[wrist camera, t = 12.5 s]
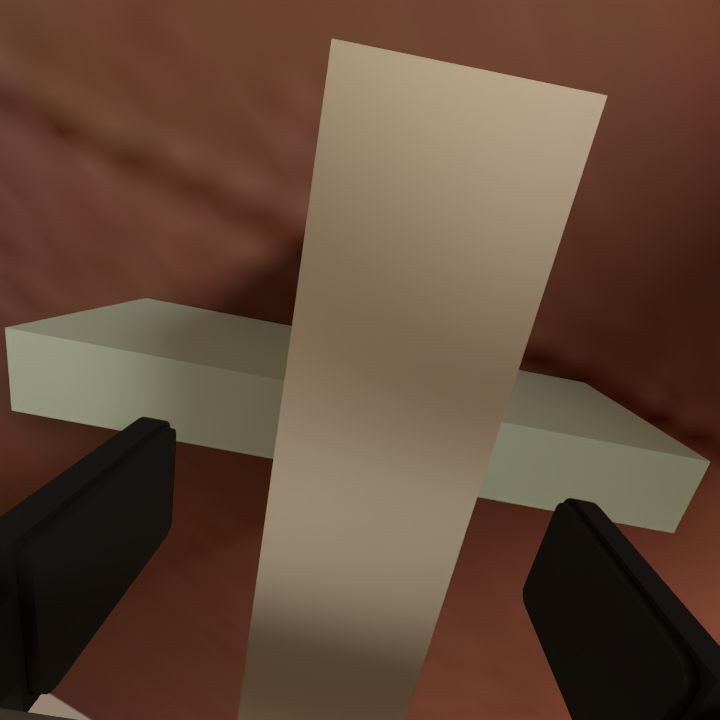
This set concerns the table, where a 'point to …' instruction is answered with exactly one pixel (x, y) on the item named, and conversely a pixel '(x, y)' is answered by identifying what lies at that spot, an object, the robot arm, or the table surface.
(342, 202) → the maple plate
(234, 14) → the table surface
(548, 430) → the slotted base
